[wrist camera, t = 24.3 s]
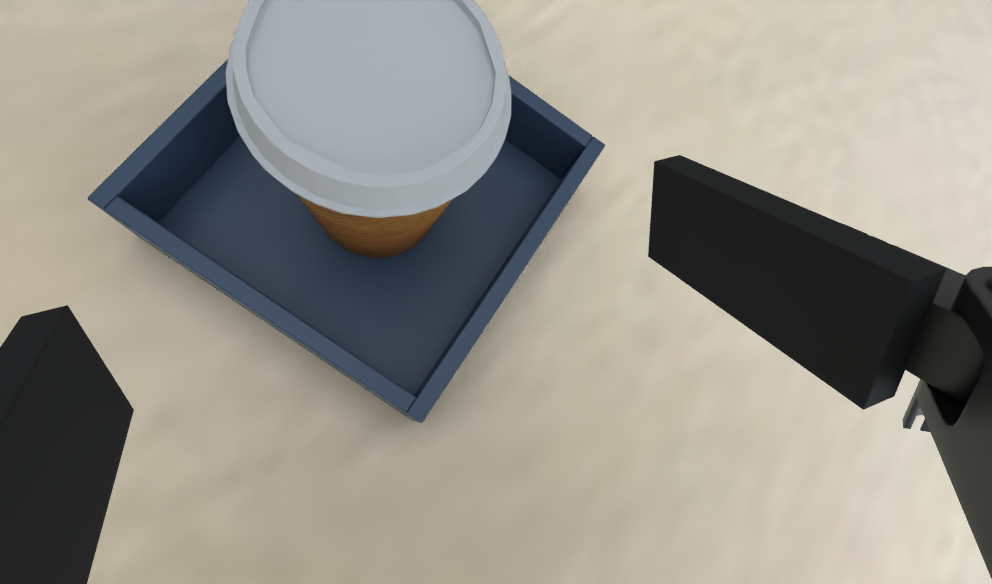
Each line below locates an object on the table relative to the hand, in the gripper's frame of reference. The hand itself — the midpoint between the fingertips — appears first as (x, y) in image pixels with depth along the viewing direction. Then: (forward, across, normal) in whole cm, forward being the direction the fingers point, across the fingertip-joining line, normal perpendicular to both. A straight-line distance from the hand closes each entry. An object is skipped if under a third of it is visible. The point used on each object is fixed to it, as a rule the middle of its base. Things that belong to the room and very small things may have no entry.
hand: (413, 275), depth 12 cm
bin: (+17, +1, -5) cm, 18 cm away
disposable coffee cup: (+17, +1, -5) cm, 18 cm away
